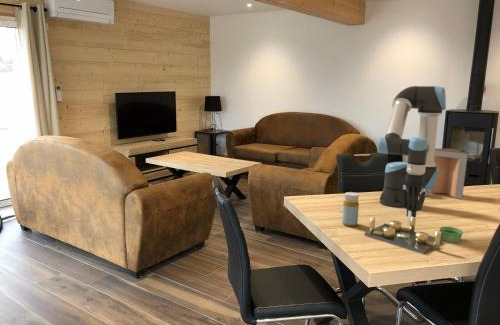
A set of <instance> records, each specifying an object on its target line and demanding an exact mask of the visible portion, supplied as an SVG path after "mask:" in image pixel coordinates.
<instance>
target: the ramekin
mask: <svg viewBox="0 0 500 325" xmlns="http://www.w3.org/2000/svg"><path fill="white" fill-rule="evenodd" d="M439 231H441V238H440V239H442V242H446V243H449V244H458V243H461V241H462V236H463V234H464V231H463V230H462V229H460V228H457V227H452V226H441V227H440V228H439Z"/></svg>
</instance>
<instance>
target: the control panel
mask: <svg viewBox="0 0 500 325" xmlns="http://www.w3.org/2000/svg"><path fill="white" fill-rule="evenodd" d="M389 226H390V223H389V224H388V223H383V224H381V225H379V226H377V227H375V228H374V231H379V232H383V228H384V227H389ZM416 232H417V231H414V232H410V231H402V230H401V231H395V237H394V238H387V237H384V236H383V235H378V234H371V233H369V230H368V231H365V232H364V236H366V237H368V238H372V239H375V240H378V241H381V242H385V243H387V244H390V245H394V246H397V247H400V248H403V249H406V250H409V251H413V252H415V253H418V254H422V255H425V254H427V253H428V252H430V251H431V250H433V249H434V248H435V247H433V246H431V245H428V244H426V243H419V242H416V241H415V235H416ZM428 241H430V242H433V243H434V241H435V236H431V235H429V238H428ZM442 243H443V240H442V239H440V244H442Z"/></svg>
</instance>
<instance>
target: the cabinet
mask: <svg viewBox="0 0 500 325" xmlns="http://www.w3.org/2000/svg"><path fill="white" fill-rule="evenodd" d="M468 156H469V152H467V151H461V150H458V149H454V148H435V154H434V163H435V164H436V168H438V169H439V172H438V175H437V179H436V183H435V187H434V188H433V189H424V190H425V191H428V194H427V195H433V196H440V197H445V198H451V199H454V200H455V199H456V200H463V194H464V188H465V178H466V170H467V163H468Z"/></svg>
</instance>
